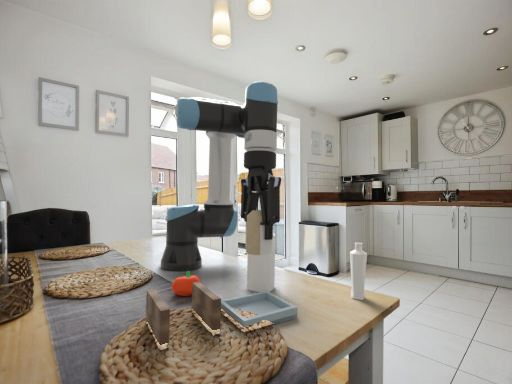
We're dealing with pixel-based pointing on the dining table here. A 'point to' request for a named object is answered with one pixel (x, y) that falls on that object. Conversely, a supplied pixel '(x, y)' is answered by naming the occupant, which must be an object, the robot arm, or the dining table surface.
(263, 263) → the white tall cylinder
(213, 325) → the cradle
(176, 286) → the orange pumpkin
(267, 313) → the tray
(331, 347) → the dining table surface
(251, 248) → the candle
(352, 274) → the perfume bottle
